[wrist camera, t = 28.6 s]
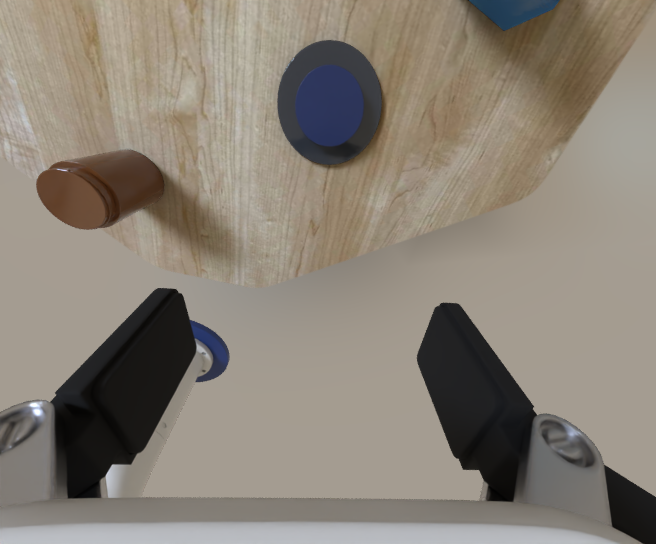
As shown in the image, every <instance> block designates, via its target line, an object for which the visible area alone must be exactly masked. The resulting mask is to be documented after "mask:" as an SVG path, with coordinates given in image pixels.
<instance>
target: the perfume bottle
mask: <svg viewBox="0 0 656 544" xmlns="http://www.w3.org/2000/svg"><path fill="white" fill-rule="evenodd" d="M469 1H470V2H471V3H472V4H473V5H475V6H476V7H477V8H478V9H479V10H480V11H482V12H483V13H484V14H485V15H486V16H487V17H489V18H490V19H491V20H492V21H493V22H494V23H496V24H497V25H498V26H499V27H500V28H501V29H503V30H504V31H505V30H507V29H510V28H512V27H514V26H516V25H519V24H521V23H523V22H525V21H527V20H530V19H532V18H534V17H536V16H539V15H541V14H543V13H545V12H548V11H550V10H552V9H554V7H555V6H556V4H557V3H558V2H559V0H469Z"/></svg>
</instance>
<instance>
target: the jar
mask: <svg viewBox="0 0 656 544" xmlns="http://www.w3.org/2000/svg"><path fill="white" fill-rule="evenodd" d="M36 187H37V192H38V195H39V197H40V199H41V201H42V203H43V204H44V206H45V207H46V208H47V209H48V210H49V211H50V212H51V213H52V214H53V215H54V216H55V217H57V218H58V219H59V220H61V221H62V222H64V223H66V224H68V225H70V226H72V227H75V228H79V229H87V230H89V229H95V228H96V229H97V228H105V227H109V226H112V225H114V224H115V223H117V222H119V221H121V220H123V219H125V218H127V217H129V216H131V215H132V214H134V213H136V212H138V211H140V210H142V209H144V208H146V207H147V206H149V205H151V204H153V203H155V202H157V201H158V200H159V199H160V198H161V197H162V195H163V192H164V181H163V178H162V175H161V173H160V171H159V170H158V168H157V167H156V166H155V164H154V163H153V162H152V161H150V160H149V159H148V158H147V157H145V156H144V155H142V154H140V153H138V152H135V151H132V150H119V151H113V152H108V153H103V154H98V155H92V156H87V157H82V158H76V159H71V160H66V161H61V162H57V163H55V164H53V165H52V166H51V167H50V168H49V169H48V170H46V171H44V172H42V173H41V174H40V175H39V177H38V179H37V182H36Z"/></svg>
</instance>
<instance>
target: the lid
mask: <svg viewBox="0 0 656 544" xmlns="http://www.w3.org/2000/svg"><path fill="white" fill-rule="evenodd" d="M295 110H296V112H295V113H296V117H297V120H298V123H299V125H300V128H301V129H302V132H304V134H305V135H306V136H307V137H308V139H310V140H312V141H313V142H315V143H316V144H319V145H322V146H328V147H331V146H332V147H333V146H337V145H341V144H342V143H344V142H346V141H347V140H349V139H350V138H351V137H352V136H353V135H354V134H355V132H356V131H357V129H358V127H359V126H360V123H361V121H362V117H363V111H364V99H363V93H362V91H361V88H360V86H359V83H358V82H357V80H356V79H355V78H354V76H353V75H352V74H351V73H350V72H349V71H347V70H346V69H345V68H342V67H340V66H336V65H323V66H320V67H316V68H315V69H314V70H312V71H311V72H310V73H308V74H307V76H306V77H305V78H304V79H303V81H302V82H301V84H300V86H299V89H298V91H297V95H296V101H295Z"/></svg>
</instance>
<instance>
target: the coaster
mask: <svg viewBox="0 0 656 544" xmlns="http://www.w3.org/2000/svg"><path fill="white" fill-rule="evenodd" d="M323 65H336V66H340V67H342V68H345V69H346V70H347V71H349V72H350V73H351V74H352V75H353V76H354V78H355V79H356V80H357V82H358V83H359V86H360V88H361V91H362V93H363V99H364V111H363V117H362V121H361V123H360V126H359V127H358V129H357V131H356V132H355V134H354V135H353V136H352V137H351V138H350V139H349V140H347V141H346V142H344V143H342V144H341V145H337V146H333V147H332V146H331V147H328V146H322V145H319V144H316V143H315V142H313V141H312V140H310V139H308V137H307V136H306V135H305V134H304V132H302V129H301V128H300V125H299V123H298V120H297V117H296V113H295V112H296V110H295V101H296V95H297V91H298V89H299V86H300V84H301V82H302V81H303V79H304V78H305V77H306V76H307V74H308V73H310V72H311V71H312V70H314V69H315V68H316V67H320V66H323ZM381 106H382V98H381V90H380V84H379V81H378V78H377V75H376V73H375V71H374V69H373V67H372V66H371V64H370V62H369V61H368V60H367V59H366V57H365V56H364V55H363V54H362V53H361V52H360V51H358V50H357V49H355V48H354V47H352V46H351V45H348V44H346V43H344V42H340V41H333V40H326V41H320V42H316V43H313V44H311V45H309V46H307V47H306V48H304V49H303V50H301V51H300V52H299V53H298V54H297V55H296V56H295V57H294V58H293V59H292V60H291V62H290V63H289V65H288V66H287V68H286V70H285V72H284V74H283V76H282V79H281V82H280V86H279V91H278V114H279V119H280V123H281V126H282V129H283V132H284V134H285V136H286V137H287V139H288V141H289V142H290V144H291V145H292V146H293V147H294V148H295V150H296V151H298V152H299V153H300V154H301V155H302V156H304V157H305V158H307V159H309V160H311V161H313V162H316V163H320V164H327V165H332V164H339V163H343V162H346V161H348V160H350V159H352V158H354V157H355V156H357V155H358V154H359V153H360V152H361V151H362V150H364V148H365V147H366V146H367V145H368V144H369V142H370V141H371V139H372V138H373V136H374V134H375V132H376V129H377V127H378V124H379V120H380V115H381Z"/></svg>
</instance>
